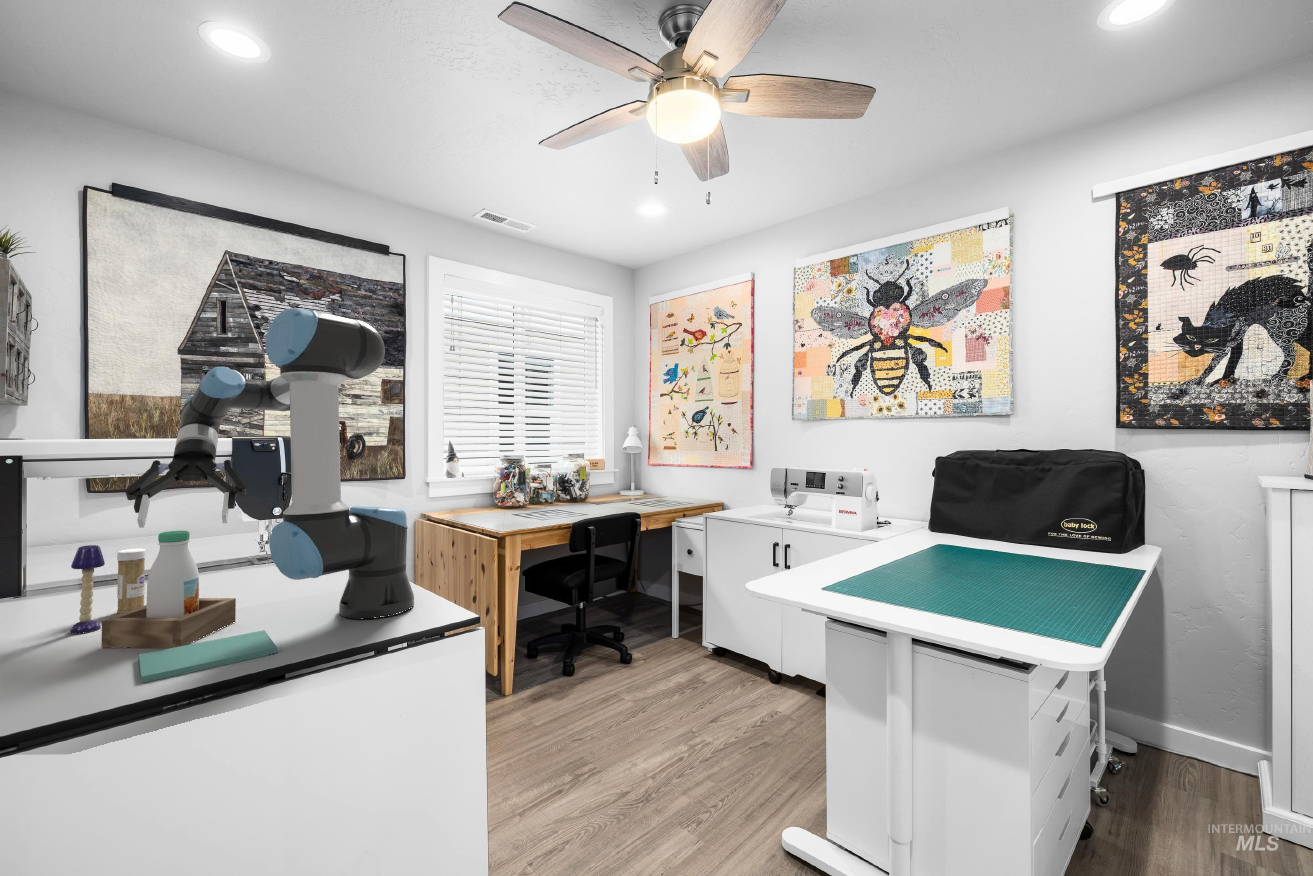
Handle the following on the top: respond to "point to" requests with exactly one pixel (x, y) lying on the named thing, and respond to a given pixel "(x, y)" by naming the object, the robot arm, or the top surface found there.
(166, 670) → the green mat
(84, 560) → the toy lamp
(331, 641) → the top surface
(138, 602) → the sprinkles bottle
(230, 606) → the walnut holder
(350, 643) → the top surface
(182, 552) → the milk bottle
